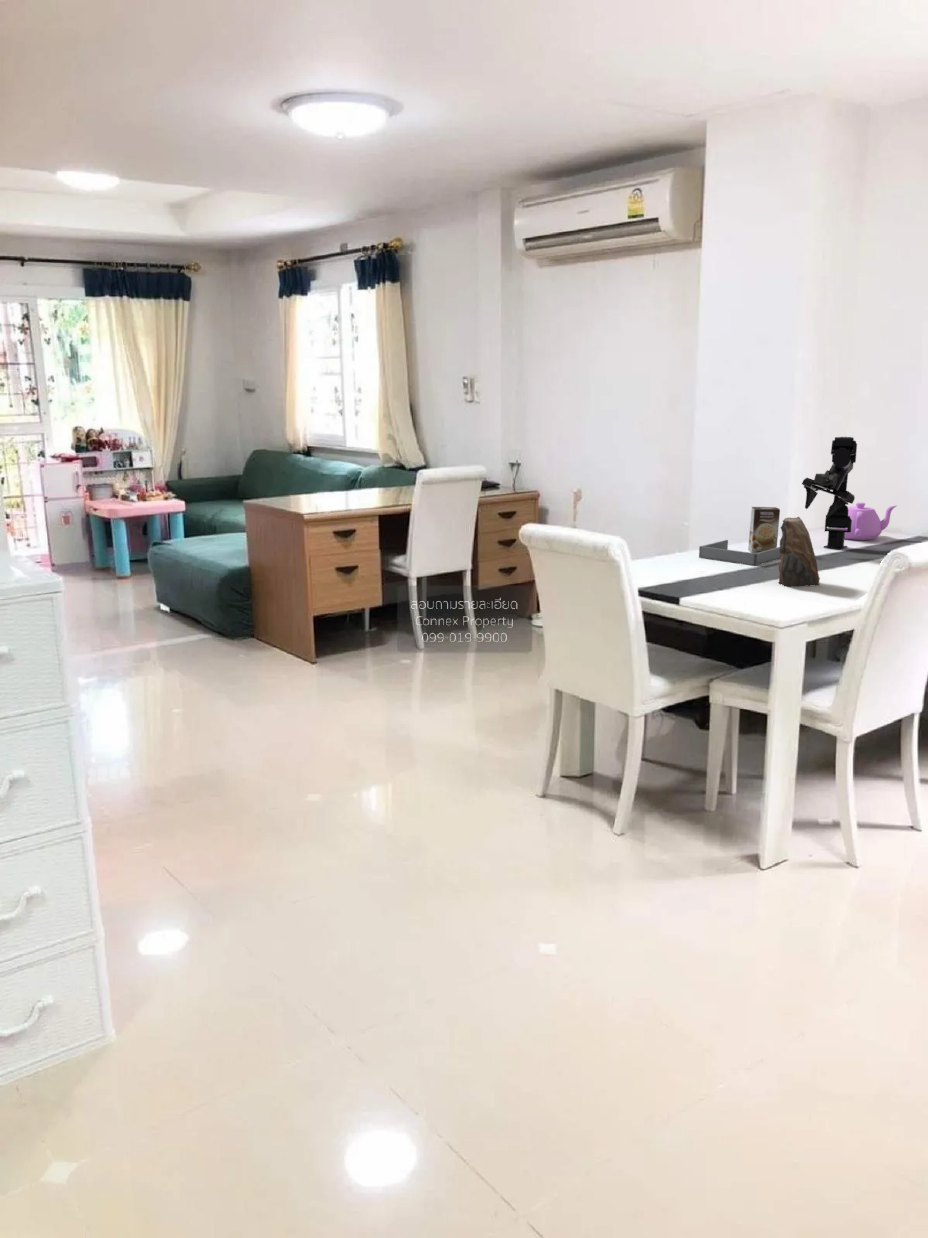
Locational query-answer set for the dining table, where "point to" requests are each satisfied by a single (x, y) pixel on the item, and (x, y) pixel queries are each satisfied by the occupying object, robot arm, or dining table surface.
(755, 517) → the coffee box
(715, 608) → the dining table surface
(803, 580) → the brown rock
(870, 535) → the teapot
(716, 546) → the box
